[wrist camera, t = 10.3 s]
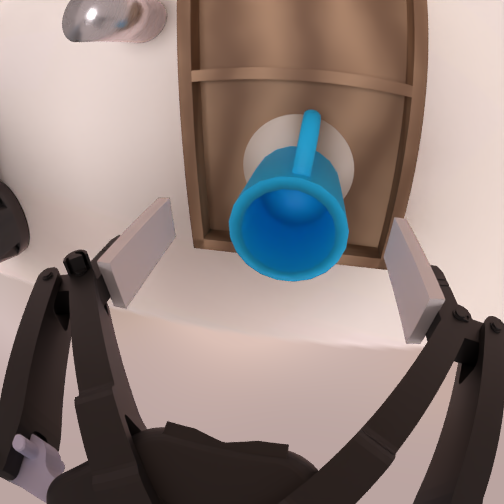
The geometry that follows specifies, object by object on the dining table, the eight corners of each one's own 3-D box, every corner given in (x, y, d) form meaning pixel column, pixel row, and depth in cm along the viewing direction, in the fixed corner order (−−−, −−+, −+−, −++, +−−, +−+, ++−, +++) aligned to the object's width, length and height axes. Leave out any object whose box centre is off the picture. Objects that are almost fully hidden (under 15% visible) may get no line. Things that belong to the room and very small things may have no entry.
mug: (328, 236, 28) (328, 291, 21) (247, 217, 29) (224, 267, 22) (360, 117, 21) (381, 135, 14) (265, 96, 22) (242, 104, 15)
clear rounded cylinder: (124, 47, 21) (62, 49, 14) (124, 6, 18) (63, -2, 11) (167, 37, 20) (108, 30, 13) (167, -6, 18) (110, -25, 10)
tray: (203, 233, 32) (194, 247, 30) (191, -23, 16) (177, -32, 14) (383, 253, 29) (388, 270, 26) (414, -13, 13) (424, -22, 10)
